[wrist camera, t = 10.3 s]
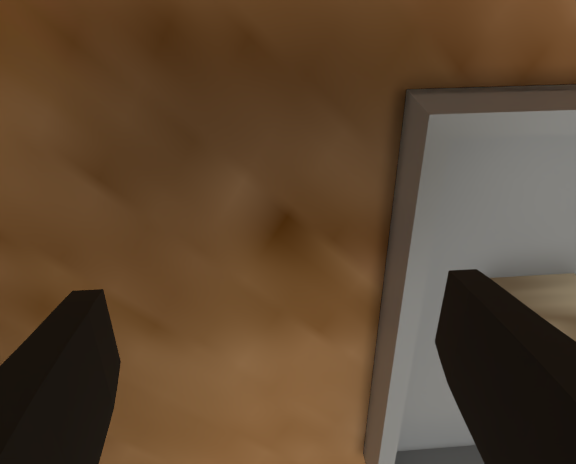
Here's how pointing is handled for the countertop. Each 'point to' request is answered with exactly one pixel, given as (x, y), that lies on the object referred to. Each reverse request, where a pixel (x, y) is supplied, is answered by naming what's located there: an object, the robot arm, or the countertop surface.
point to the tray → (464, 243)
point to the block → (547, 297)
